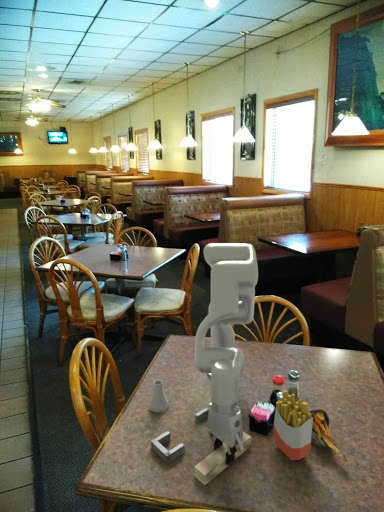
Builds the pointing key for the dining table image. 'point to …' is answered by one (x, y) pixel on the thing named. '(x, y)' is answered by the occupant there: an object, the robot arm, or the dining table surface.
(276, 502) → the dining table surface
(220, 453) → the birch slat
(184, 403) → the dining table surface
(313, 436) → the fried food
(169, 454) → the end cap
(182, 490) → the dining table surface
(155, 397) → the flask
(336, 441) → the dining table surface
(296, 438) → the french fries container
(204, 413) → the end cap
